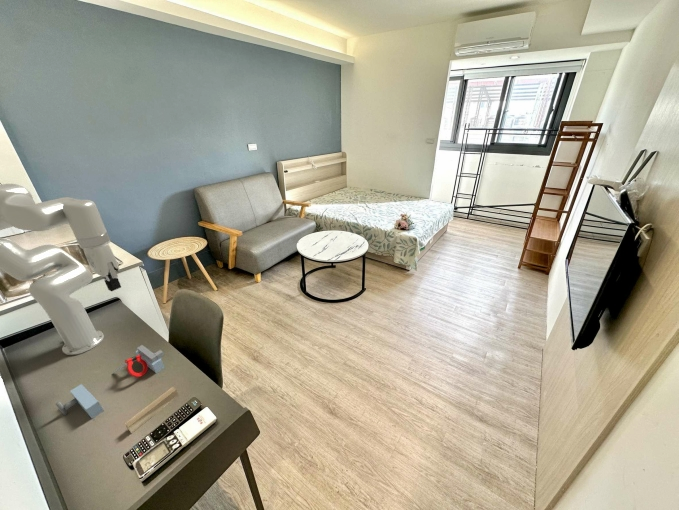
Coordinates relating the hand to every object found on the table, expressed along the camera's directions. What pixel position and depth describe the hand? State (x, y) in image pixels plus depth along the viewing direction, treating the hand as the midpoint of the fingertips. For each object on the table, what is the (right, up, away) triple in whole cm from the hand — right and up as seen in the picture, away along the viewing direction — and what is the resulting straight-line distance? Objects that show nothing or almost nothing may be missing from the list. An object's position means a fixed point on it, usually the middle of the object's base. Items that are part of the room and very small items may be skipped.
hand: (115, 288), depth 94 cm
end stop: (+20, -37, -9) cm, 43 cm away
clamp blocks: (+2, -33, -1) cm, 33 cm away
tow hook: (+5, -33, +2) cm, 34 cm away
